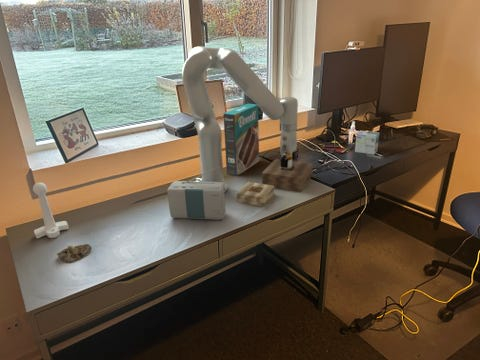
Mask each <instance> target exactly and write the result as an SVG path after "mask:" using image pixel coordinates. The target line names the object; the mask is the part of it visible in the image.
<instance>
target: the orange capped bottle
mask: <svg viewBox="0 0 480 360" xmlns="http://www.w3.org/2000/svg"><path fill="white" fill-rule="evenodd" d="M284 152H285V151H284ZM284 155H285V156H286V154H284ZM287 159H288V167H287V168H285V167H283V170H288V171H292V161H293V160H292V154H288V157H287Z"/></svg>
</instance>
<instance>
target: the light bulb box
mask: <svg viewBox="0 0 480 360" xmlns="http://www.w3.org/2000/svg"><path fill="white" fill-rule="evenodd" d="M379 138H380V132H376V131H368V130H359V131H357V132H356V136H355V146H354V147H355V148H354V152H355V153H360V154H368V155H375V154H376V153H377V152H378V147H379V141H380V140H379Z"/></svg>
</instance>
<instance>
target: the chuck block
mask: <svg viewBox="0 0 480 360" xmlns="http://www.w3.org/2000/svg"><path fill="white" fill-rule="evenodd" d="M312 166H313V163H310V162H302V161H295V160H292V171H288V170H283V167H281V159H279V158H275V159H274V160H273V161H272V162H271V163H270V164H269V165H268V166H267V167H266V168H265V169H264V170H263V171H262V172H261V184H266V185H272V186H274V189H279V190H286V191H290V192H291V191H292V192H297V193H298V192H299V193H301V192H303V189H304V188H305V187H306V185H307V184H308V182H309V181H310V180H311V179H312V174H313V173H312V171H313V169H312V168H313V167H312Z"/></svg>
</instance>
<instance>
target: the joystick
mask: <svg viewBox="0 0 480 360" xmlns="http://www.w3.org/2000/svg"><path fill="white" fill-rule="evenodd" d="M32 191H33V193H34V194H35V195H37V197H38V200H39V205H40V209H41V214H42V219H43V223H44V225H43V226H41V227H38V228H36V229H34V230H33V232H34V236H35V238H36V239H41V238H42V237H45V236H47V238H50V239H55V238H57V237H59V235H60V234H61V233H60V232H61V231H63V230H64V231H65V230H68V229H69V228H70V227H69V224H68V221H66V220H63V221H57V222H56V221H55V219H54V215H53V213H52V210H51V209H52V208H51V207H50V204H49V201H48V198H47V195H46V194H47V191H48V187H47V184H45V183H44V182H40V181H39V182H36V183H35V184H34V185H33V187H32Z"/></svg>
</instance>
